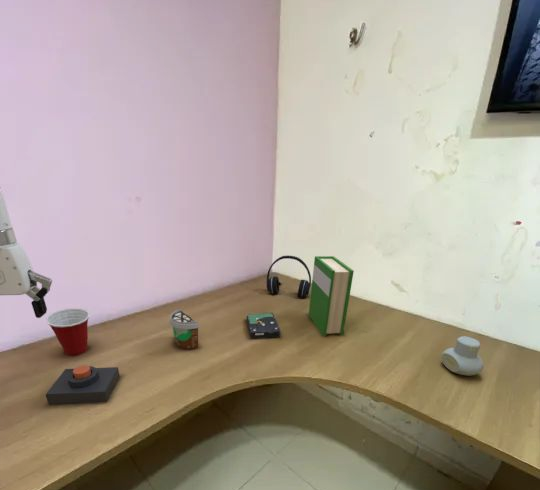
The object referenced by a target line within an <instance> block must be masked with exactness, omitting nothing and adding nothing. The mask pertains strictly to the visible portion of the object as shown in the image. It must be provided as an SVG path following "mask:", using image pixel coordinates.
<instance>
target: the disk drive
mask: <svg viewBox="0 0 540 490" xmlns="http://www.w3.org/2000/svg"><path fill="white" fill-rule="evenodd" d="M246 323H247V326H248V331H249V336H250V338H251V339H265V338H267V339H268V338H269V339H270V338H280V337H281V328H280V326H279V324H278V322H277V320H276V317H275V315H274V312H259V313H247V315H246Z"/></svg>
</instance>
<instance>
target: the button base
mask: <svg viewBox="0 0 540 490" xmlns="http://www.w3.org/2000/svg"><path fill="white" fill-rule="evenodd" d="M88 366H89V367H90V370H91V375H90V376H88V377H86V378H83V379H75V377H74V374H73V370H74V369H75V368H65V369H64V370H63V372H62V373H61V374H60V375H59V376H58V377H57V379H56V380H55V381H54V382H53V384H52V386H51V387H50V388H49V389H48V391H46V392H45V397H46V400H47V403H48V405H50V406H51V405H52V406H53V405H74V404H75V405H77V404H92V403H107V402H108V401H109V399H110V397H111V395H112V393H113V391H114V389H115V387H116V385H117V383H118V382H119V380H120V378H121V375H120V371H119V367H118V366H111V367H95V366H92V365H88Z"/></svg>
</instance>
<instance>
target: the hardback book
mask: <svg viewBox="0 0 540 490" xmlns="http://www.w3.org/2000/svg"><path fill="white" fill-rule="evenodd" d="M354 272H355V270H353V269H352V268H351V267H350V266H348V265H347V264H345V262H343V261H341V260H340V259H339V258H338V257H335V255H329V256H327V255H322V256H321V255H320V256H319V255H316V256H314V261H313V270H312V278H311V287H310V297H309V308H308V309H309V310H308V316H309V318H310V319H311V320H312V322H313V324H314V325H315V326H316V328H317V329H318V331H319V332H320V334H321V336H322V337H327V335H328V334H339V336H344V332H345V326H346V320H347V315H348V314H347V313H348V307H349V302H350V296H351V290H352V284H353V278H354Z"/></svg>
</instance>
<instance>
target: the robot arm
mask: <svg viewBox="0 0 540 490" xmlns="http://www.w3.org/2000/svg"><path fill="white" fill-rule="evenodd" d="M38 283H39V284H40V285H41V288H39V287H38ZM52 284H53V279H52V278H50V277H48V276H44V275H43V274H39V273H38V272H35V271H34V268H33V266H32V263H31V261H30V258H29V256H28V254H27V252H26V251H25V249H24V247H23V246H22V244H21V243H19V242H18V241H17V238H16V235H15V231H14V228H13V224H12V221H11V218H10V215H9V212H8V209H7V205H6V201H5V197H4V194H3V192H2V189H1V187H0V296H22V295H26V296H27V297H29V298H30V299H31V300H32V301H31V307H32V309H33V313H34V315H35V318H36V319H41V318H42V317H43V316H45V314H47V311H48V308H47V305H46V301H45V297H46V295H47V294H48V293H49V292H50V291H51V287H52Z"/></svg>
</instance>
